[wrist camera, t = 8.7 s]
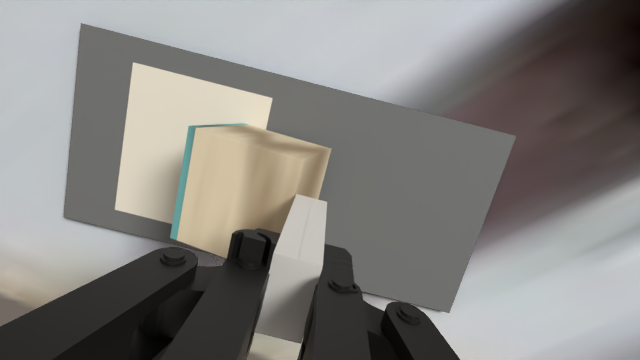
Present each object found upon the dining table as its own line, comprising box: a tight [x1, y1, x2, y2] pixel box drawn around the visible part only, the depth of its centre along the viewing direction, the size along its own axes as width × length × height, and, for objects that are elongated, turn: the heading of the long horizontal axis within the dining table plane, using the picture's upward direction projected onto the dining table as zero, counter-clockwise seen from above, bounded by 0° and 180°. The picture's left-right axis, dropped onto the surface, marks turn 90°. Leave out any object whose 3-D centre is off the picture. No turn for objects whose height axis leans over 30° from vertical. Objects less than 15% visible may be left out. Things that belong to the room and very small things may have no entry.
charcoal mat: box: [64, 23, 516, 313], centre depth 24 cm, size 28×13×1 cm, turn 76°
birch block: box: [170, 123, 331, 259], centre depth 21 cm, size 6×6×6 cm
